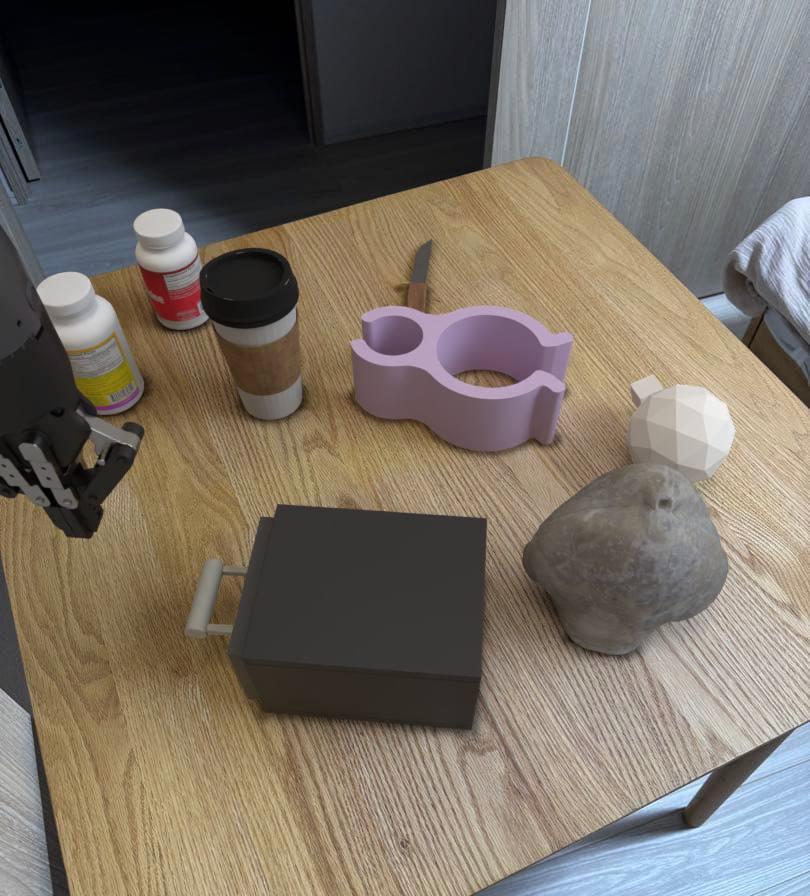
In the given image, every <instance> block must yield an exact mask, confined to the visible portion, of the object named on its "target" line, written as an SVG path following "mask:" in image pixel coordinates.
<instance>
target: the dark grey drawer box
mask: <svg viewBox="0 0 810 896" xmlns="http://www.w3.org/2000/svg"><path fill="white" fill-rule="evenodd" d="M273 517H274V520H273V524H272V528H271V533H270V537H269V541H268V546H267V550H266V554H265V558H264V563H263V567H262V571H261V576H260V580H259V584H258V589H257V593H256V597H255V602H254V606H253V610H252V614H251V619H250V623H249V627H248V632H247V636H246V640H245V645H244V649H243V653H242V661H243V663H244V665H245V667H246V669H247V672H248V674H249V676H250V678H251V681H252V683H253V685H254V687H255V690H256V692H257V694H258V696H259V699H260V700H259V701H260V704H261V705H262V708H263V709H264V713H265V714H277V715H288V716H289V715H290V716H302V717H312V718H313V717H314V718H324V719H325V718H326V719H337V720H349V721H362V722H373V723H382V724H383V723H384V724H385V723H386V724H396V725H407V726H408V725H409V726H420V727H431V728H444V729H453V730H454V729H455V730H467V731H472V730H473V726H474V719H475V714H476V709H477V703H478V698H479V692H480V687H481V681H482V676H483V675H482V673H483V648H484V647H483V646H484V645H483V644H484V620H485V619H484V617H485V595H486V594H485V591H486V590H485V589H486V563H487V561H486V560H487V539H488V538H487V536H488V535H487V534H488V518H487V517H477V516H476V517H475V516H461V515H446V514H445V515H444V514H430V513H417V512H402V511H401V512H400V511H390V510H389V511H387V510H374V509H373V510H372V509H361V508H360V509H358V508H346V507H345V508H344V507H331V506H330V507H329V506H314V505H299V504H283V503H277V504H276V506H275V511H274V516H273Z"/></svg>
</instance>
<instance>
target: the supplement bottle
mask: <svg viewBox="0 0 810 896" xmlns="http://www.w3.org/2000/svg"><path fill="white" fill-rule="evenodd" d="M36 290H37V293H38V294H39V296H40V298H41V300H42V302H43V305H44V307H45V309H46V311H47V313H48V315H49V317H50V319H51V321H52V323H53V325H54V327H55V329H56V331H57V333H58V336H59V338H60V340H61V342H62V344H63V346H64V348H65V350H66V352H67V354H68V356H69V359H70V362H71V366H72V370H73V375H74V380H75V384H76V387H77V388H78V390H79V391H80V392H81V393H82V394H83V395H84V396H85V397H86V398H88V399H89V400H90V401H91V402H92V403H93V404H94V406H95V408H96V410H97V416H109V415H116V414H119V413H120V414H121V413H123V412H124V411H127V410H128V409H130V408H132V407H134V405H135V404H137V402H138V401H140V399H141V397H142V395H143V393H144V390H145V381H144V378H143V375H142V372H141V370H140V368H139V365H138V363H137V360H136V358H135V356H134V353H133V351H132V349H131V346H130V344H129V342H128V339H127V337H126V335H125V332H124V329H123V328H122V325H121V323H120V320H119V316H118V315H117V312H116V310H115V308H114V307H113V305H112V303H110V302H109V301H108V300H107V299H106V298H104V297H102V296H101V295H98V294H96V291H95V289H94V287H93V284H92V282H91V280H90V279H89V277H87V275H85V274H83V273H81V272H78V271H63V272H59V273H55V274H52V275H50V276H48V277H46V278H45V279H44V280H42V282H40V283H39V284H38V285H37V288H36Z"/></svg>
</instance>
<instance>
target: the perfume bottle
mask: <svg viewBox="0 0 810 896" xmlns="http://www.w3.org/2000/svg"><path fill="white" fill-rule="evenodd" d="M629 389H630V395H631V402H632V403H633V404H634V405H635V407H636V408H637V409H635V410H634V411H633V413H632V414H631V415H630V418H629V423H628V427H627V432H626V436H625V443H626V446H627V449H628V452H629V455H630V458H631V461H632V464H637V463H656V464H661V465H666V466H669V467H671V468H674V469H676V470H677V471H679V472H680V473H682V474H683V475H684V476H685V477H686V478H687V479H689V480H690V481H691V482H692V483H693V484H696V483H699V482H703V481H707V480H711V478H712V477H713V476H714V475H715V473H716V472H717V471H718V469H719V468H720V467H721V466H722V464H723V463H724V462H725V461H726V459H727V458H728V457H729V454H730V451H731V448H732V446H733V442H734V439H735V436H736V432H737V431H736V428H735V425H734V422H733V419H732V417H731V414H730V411H729V407H728V405H727V404H726V403H725V402H724V401H722V400H721V399H720V398H718V397H717V396H716V395H714V394H713V393H712V392H710V391H709V390H707V389H706V388H705V387H703V386H697V385H689V384H679V383H676V384H673V385H671V386H668V387H666V388H664V386H663V385H662V384H661V382H660V381H659V380H658V378H657V377H656V376H655V375H654V374H653V373H652V374H649V375H647V376H645V377H643V378H640V379H639V380H636V381H634V382H631V383H629Z"/></svg>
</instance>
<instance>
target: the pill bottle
mask: <svg viewBox="0 0 810 896" xmlns="http://www.w3.org/2000/svg"><path fill="white" fill-rule="evenodd" d="M133 230H134V235H135V237H136V239H137V243H136V246H135V251H134V255H135V259H136V262H137V265H138V268H139V271H140V274H141V277H142V280H143V282H144V285H145V287H146V288H145V289H146V291H147V293H148V297H149V299H150V302H151V305H152V307H153V310H154V313H155V315H156V318H157V320H158V321H159V323H160V324H162V326H165V327H166V328H168V329H171V330H176V331H185V330H190V329H194V328H196V327H199V326H201V325H203V324H204V323H206V322H207V321H208V319H210V318H209V317H208V316H207V315H206V313H205V312H204V310H203V307H202V304H201V300H200V292H201V289H200V281H199V274H200V271H201V269H202V268H203V264H202V261H201V256H200V252H199V248H198V247H197V243H196V241H195V239H194V238H193V237H192V236H191V234H190V233H188V232H186V231H185V230H186V229H185V225H184V223H183V220H182V217H181V216H180V214H179V212H177V211H175V210H173V209H169V208H154V209H149V210H147V211H145V212H142V213H140V214H139V215H138V216H137V217H136V218H135V219H134V221H133Z"/></svg>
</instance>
